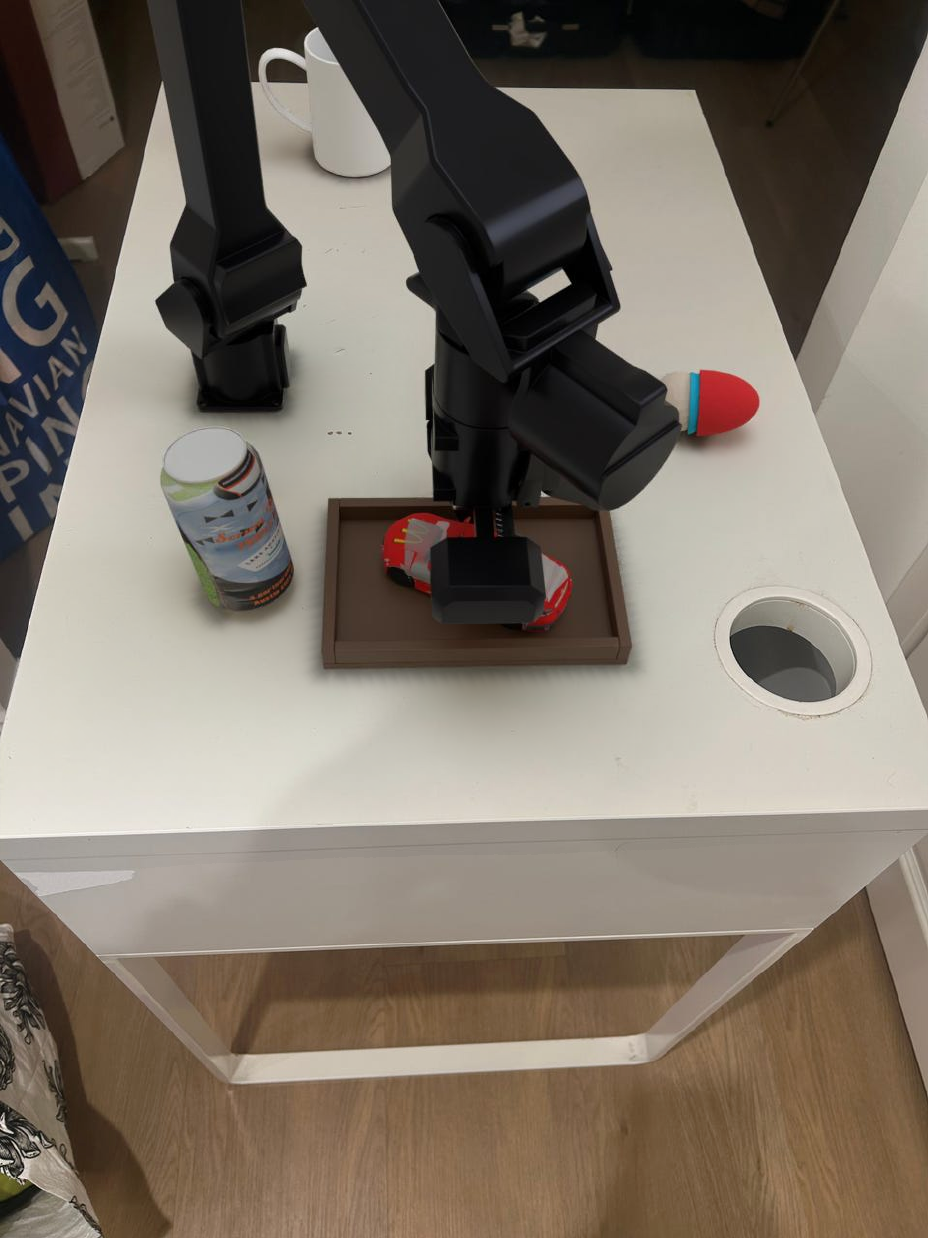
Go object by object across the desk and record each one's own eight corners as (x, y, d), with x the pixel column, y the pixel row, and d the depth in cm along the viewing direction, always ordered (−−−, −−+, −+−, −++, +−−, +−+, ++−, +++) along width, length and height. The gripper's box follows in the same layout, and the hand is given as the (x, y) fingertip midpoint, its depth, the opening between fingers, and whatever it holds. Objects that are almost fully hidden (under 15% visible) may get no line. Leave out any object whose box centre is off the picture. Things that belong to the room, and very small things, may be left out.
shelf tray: (323, 669, 62) (321, 651, 60) (330, 517, 69) (328, 497, 68) (626, 663, 63) (632, 646, 62) (602, 515, 70) (607, 495, 69)
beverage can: (257, 638, 63) (228, 519, 53) (171, 587, 65) (127, 463, 55) (316, 573, 66) (298, 449, 56) (231, 527, 68) (200, 399, 58)
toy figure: (556, 457, 75) (757, 459, 73) (553, 405, 72) (765, 406, 69) (565, 396, 80) (754, 396, 77) (563, 345, 76) (761, 343, 74)
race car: (366, 574, 66) (363, 537, 63) (404, 520, 69) (403, 481, 65) (545, 650, 63) (552, 615, 60) (577, 590, 66) (585, 553, 62)
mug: (393, 132, 97) (391, 20, 89) (397, 177, 93) (395, 64, 84) (270, 133, 96) (256, 20, 88) (269, 179, 92) (253, 65, 83)
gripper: (664, 526, 47) (610, 688, 60) (614, 280, 57) (577, 463, 70) (433, 528, 46) (429, 691, 59) (425, 279, 57) (423, 463, 70)
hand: (472, 567), depth 65 cm, fingers open, 6 cm apart
